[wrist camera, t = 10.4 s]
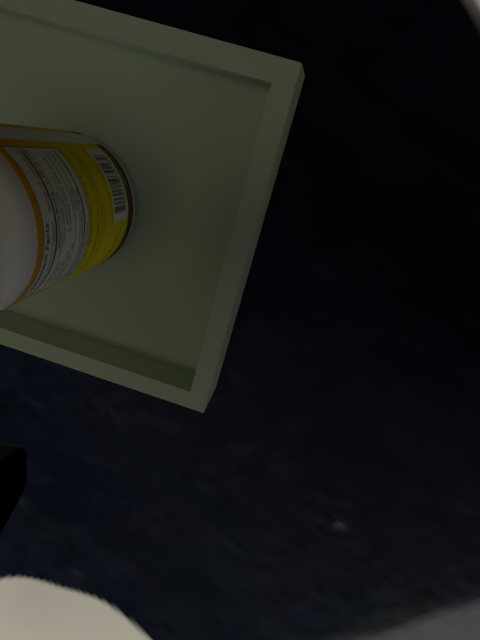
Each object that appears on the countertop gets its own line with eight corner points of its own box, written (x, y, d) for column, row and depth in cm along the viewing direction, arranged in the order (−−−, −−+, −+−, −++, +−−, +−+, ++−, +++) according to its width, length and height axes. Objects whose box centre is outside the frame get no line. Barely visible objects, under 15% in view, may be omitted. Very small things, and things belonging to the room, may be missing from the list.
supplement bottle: (2, 216, 20) (-278, 265, 11) (51, 102, 18) (-241, 41, 9) (105, 288, 21) (-83, 397, 11) (164, 184, 19) (-3, 208, 9)
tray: (305, 76, 17) (301, 62, 15) (216, 386, 22) (203, 413, 20) (-75, -30, 18) (-133, -57, 16) (-77, 288, 24) (-121, 302, 21)
